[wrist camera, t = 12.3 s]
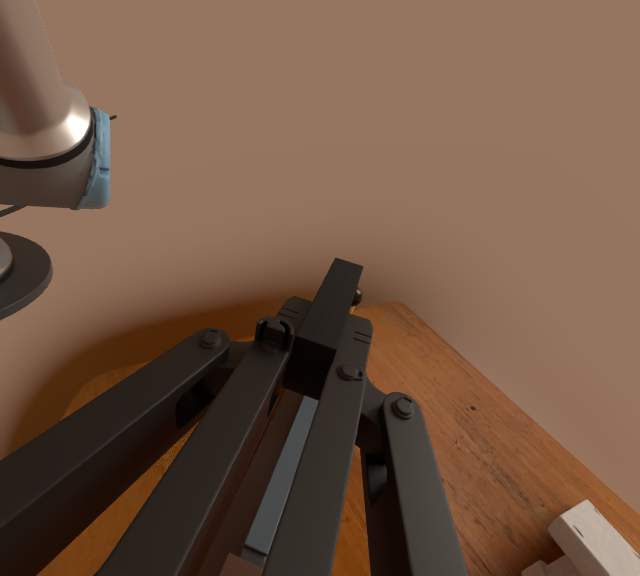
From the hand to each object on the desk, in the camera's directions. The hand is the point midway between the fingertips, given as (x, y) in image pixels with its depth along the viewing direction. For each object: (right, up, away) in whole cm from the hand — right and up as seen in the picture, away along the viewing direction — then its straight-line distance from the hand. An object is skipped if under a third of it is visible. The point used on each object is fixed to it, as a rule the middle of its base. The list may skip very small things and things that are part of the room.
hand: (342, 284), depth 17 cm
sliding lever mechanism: (-4, -18, +18) cm, 26 cm away
